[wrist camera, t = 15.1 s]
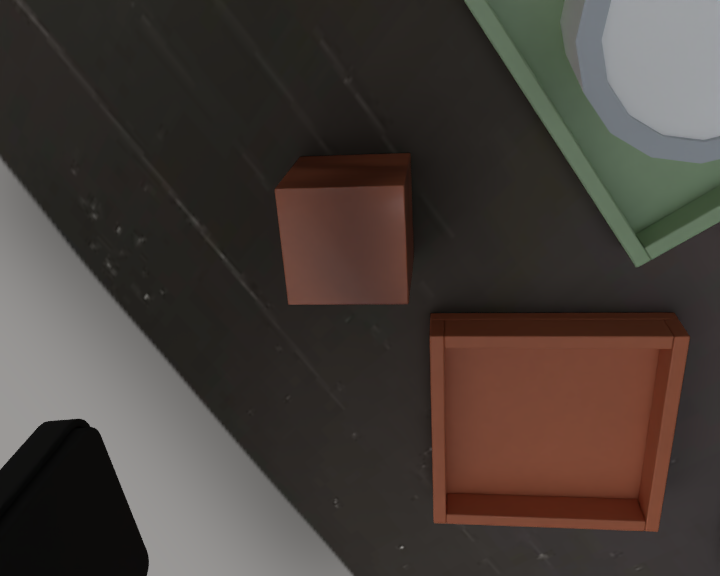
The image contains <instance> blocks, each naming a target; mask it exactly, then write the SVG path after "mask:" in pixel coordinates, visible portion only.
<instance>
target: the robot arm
mask: <svg viewBox="0 0 720 576" xmlns="http://www.w3.org/2000/svg"><path fill="white" fill-rule="evenodd" d="M148 566H149V559H148V553H147V550H146V548H145V545H144V543H143V540H142V538H141V535H140V533H139V530H138V528H137V525H136V523H135V520H134V518H133V515H132V513H131V510H130V508H129V505H128V503H127V500H126V498H125V495H124V493H123V490H122V488H121V485H120V483H119V480H118V478H117V475H116V472H115V470H114V468H113V465H112V462H111V460H110V458H109V455H108V453H107V450H106V447H105V445H104V443H103V440H102V437H101V435H100V433H99V432H98V430H97V429H95V428H92V427H90V426H89V424H88V423H87V422H86V421H85V420H82V419H71V420H60V421H59V420H58V421H48V422H44V423H43V424H41V425H40V426H39V427H38V428H37V429H36V430H35V431H34V433H33V434H32V435H31V436H30V437H29V438H28V439H27V440H26V442H25V443H24V444H23V445H22V446H21V447H20V448H19V449H18V450H17V452H16V453H15V454H14V455H13V456H12V457H11V458H10V459H9V461H8V462H7V463H6V464H5V465H4V466H3V467H2V469H1V470H0V576H147V572H148Z"/></svg>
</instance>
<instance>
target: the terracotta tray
mask: <svg viewBox="0 0 720 576" xmlns="http://www.w3.org/2000/svg"><path fill="white" fill-rule="evenodd" d="M689 340H690V336H689V334H688V333H687V331H686V330H685V328H684V327H683V325H682V324H681V322H680V321H679V320H678V318H677V316H676V315H675V313H431V315H430V380H431V426H432V471H433V516H434V523H444V524H445V523H446V522H447V523H448V524H471V525H497V526H524V527H551V528H577V529H604V530H630V531H644V530H645V531H655V532H657V531H658V529H659V523H660V517H661V511H662V505H663V499H664V493H665V487H666V480H667V474H668V468H669V462H670V456H671V450H672V444H673V438H674V432H675V426H676V419H677V413H678V407H679V401H680V395H681V389H682V383H683V377H684V371H685V365H686V359H687V352H688V346H689Z"/></svg>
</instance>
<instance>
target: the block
mask: <svg viewBox="0 0 720 576" xmlns="http://www.w3.org/2000/svg"><path fill="white" fill-rule="evenodd" d="M275 197H276V206H277V214H278V222H279V231H280V239H281V247H282V256H283V264H284V272H285V281H286V289H287V297H288V304H289V305H349V304H408V303H409V296H410V287H411V278H412V269H413V260H414V244H413V212H412V180H411V154H410V153H392V154H363V155H334V156H304V157H299V159H298V160H297V161H296V162H295V164H294V165H293V166H292V168H291V169H290V170H289V171H288V173H287V174H286V175H285V177H284V178H283V179H282V180H281V182H280V183H279V184H278V185H277V187H276V188H275Z"/></svg>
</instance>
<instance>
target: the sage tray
mask: <svg viewBox="0 0 720 576" xmlns="http://www.w3.org/2000/svg"><path fill="white" fill-rule="evenodd" d="M564 1H565V0H464V2H465V3H466V5H467V6H468V8H469V9H470V11H471V12H472V14H473V16H474V17H475V19H476V20H477V22H478V23H479V25H480V26H481V28H482V29H483V31H484V33H485V34H486V36H487V37H488V39H489V40H490V42H491V43H492V45H493V47H494V48H495V50H496V51H497V53H498V54H499V56H500V57H501V59H502V60H503V62H504V64H505V65H506V67H507V68H508V70H509V71H510V73H511V74H512V76H513V78H514V79H515V81H516V82H517V84H518V85H519V87H520V88H521V90H522V91H523V93H524V95H525V96H526V98H527V99H528V101H529V102H530V104H531V105H532V107H533V109H534V110H535V112H536V113H537V115H538V116H539V118H540V119H541V121H542V122H543V124H544V126H545V127H546V129H547V130H548V132H549V133H550V135H551V136H552V138H553V140H554V141H555V143H556V144H557V146H558V147H559V149H560V150H561V152H562V153H563V155H564V157H565V158H566V160H567V161H568V163H569V164H570V166H571V167H572V169H573V171H574V172H575V174H576V175H577V177H578V178H579V180H580V181H581V183H582V184H583V186H584V188H585V189H586V191H587V192H588V194H589V195H590V197H591V198H592V200H593V202H594V203H595V205H596V206H597V208H598V209H599V211H600V212H601V214H602V215H603V217H604V219H605V220H606V222H607V223H608V225H609V226H610V228H611V229H612V231H613V233H614V234H615V236H616V237H617V239H618V240H619V242H620V243H621V245H622V246H623V248H624V250H625V251H626V253H627V254H628V256H629V257H630V259H631V260H632V262H633V264H634V265H635V267H640V266H641V265H643V264H645V263H647V262H648V261H650V258H651V259H654V258H656V257H657V256H659V255H661V254H663V253H665V252H666V251H668V250H670V249H672V248H674V247H675V246H677V245H679V244H681V243H683V242H684V241H686V240H688V239H690V238H692V237H693V236H695V235H697V234H699V233H700V232H702V231H704V230H706V229H708V228H709V227H711V226H713V225H715V224H717V223H718V222H720V159H718V160H714V161H710V162H706V163H701V164H700V163H692V162H684V161H676V160H668V159H660V158H652V157H650V156H648V155H646V154H645V153H643V152H641V151H640V150H638V149H636V148H635V147H633V146H631V145H630V144H628V143H626V142H625V141H623V140H621V139H620V138H618V137H616V136H614V135H613V134H611V133H610V132H609V130H608V129H607V127H606V126H605V124H604V123H603V121H602V120H601V118H600V117H599V115H598V114H597V112H596V111H595V109H594V108H593V106H592V105H591V103H590V102H589V100H588V99H587V97H586V96H585V94H584V93H583V91H582V88H581V86H580V84H579V82H578V80H577V78H576V75H575V73H574V71H573V69H572V67H571V65H570V62H569V60H568V58H567V56H566V54H565V48H564V42H563V37H562V31H561V25H560V19H561V14H562V10H563V5H564Z"/></svg>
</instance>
